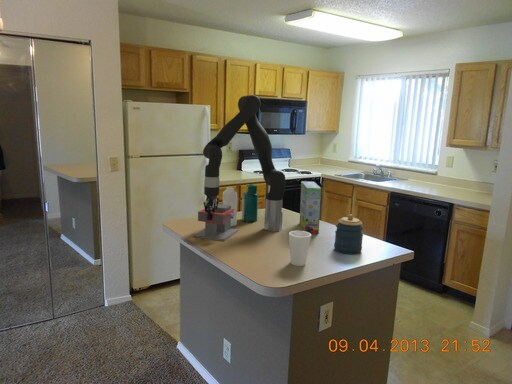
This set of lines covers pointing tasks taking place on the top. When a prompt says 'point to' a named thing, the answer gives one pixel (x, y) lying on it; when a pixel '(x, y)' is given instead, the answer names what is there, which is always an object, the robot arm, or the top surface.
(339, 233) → the lidded canister
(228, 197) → the milk
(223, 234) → the stand
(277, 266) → the top surface
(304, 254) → the foam cup
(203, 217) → the red c-shaped frame
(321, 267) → the top surface
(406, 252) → the top surface
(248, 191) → the teal bottle
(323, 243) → the top surface
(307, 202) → the snack box
